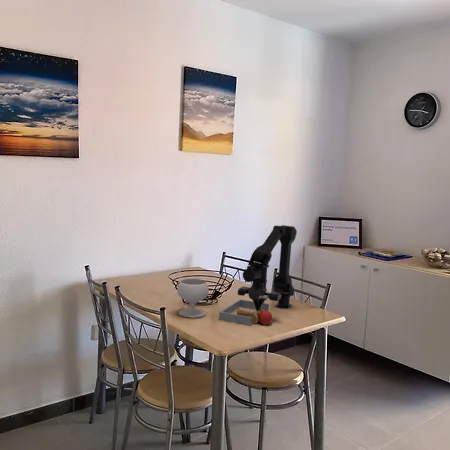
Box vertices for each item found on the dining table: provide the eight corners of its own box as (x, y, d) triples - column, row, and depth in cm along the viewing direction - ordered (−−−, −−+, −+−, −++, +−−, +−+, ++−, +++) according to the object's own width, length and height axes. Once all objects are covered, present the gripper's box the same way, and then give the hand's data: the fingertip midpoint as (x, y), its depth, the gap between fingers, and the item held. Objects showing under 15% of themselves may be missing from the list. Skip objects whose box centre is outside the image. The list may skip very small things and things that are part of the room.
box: (239, 306, 223) (239, 299, 222) (268, 311, 217) (269, 304, 217) (218, 319, 201) (219, 312, 201) (250, 325, 196) (251, 317, 195)
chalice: (207, 309, 215) (208, 278, 213) (207, 319, 201) (209, 286, 199) (177, 308, 214) (178, 277, 212) (175, 318, 200) (176, 284, 199)
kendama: (232, 321, 205) (265, 325, 194) (233, 306, 206) (265, 310, 194) (243, 320, 211) (275, 325, 199) (244, 306, 212) (276, 310, 200)
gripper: (233, 278, 201) (231, 313, 203) (274, 285, 193) (272, 321, 195) (243, 274, 211) (241, 307, 213) (282, 279, 204) (280, 314, 205)
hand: (258, 312), depth 206 cm, fingers closed
